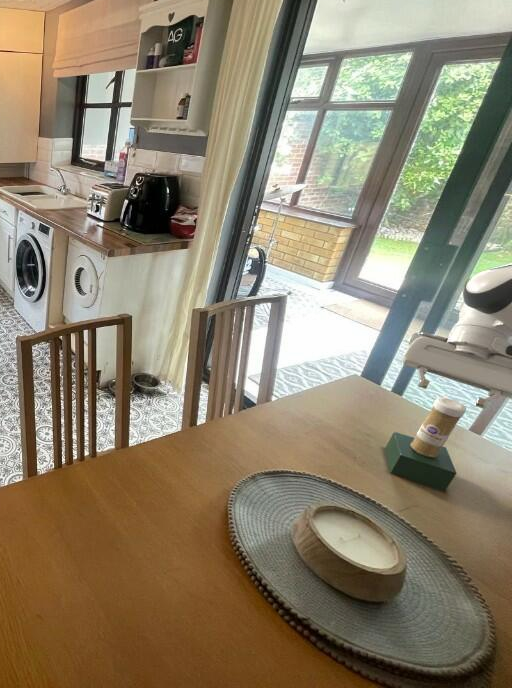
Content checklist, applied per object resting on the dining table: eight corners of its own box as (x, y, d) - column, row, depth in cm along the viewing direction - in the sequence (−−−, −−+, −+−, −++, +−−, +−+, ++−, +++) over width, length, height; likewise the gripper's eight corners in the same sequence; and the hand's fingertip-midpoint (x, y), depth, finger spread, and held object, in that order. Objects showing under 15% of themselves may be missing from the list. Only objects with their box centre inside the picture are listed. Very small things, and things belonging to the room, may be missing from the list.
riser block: (434, 464, 95) (445, 447, 93) (444, 491, 89) (456, 473, 86) (384, 448, 100) (394, 431, 98) (390, 473, 93) (400, 455, 91)
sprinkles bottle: (407, 449, 92) (435, 402, 87) (411, 440, 95) (438, 393, 89) (435, 461, 89) (465, 413, 83) (439, 451, 92) (468, 404, 86)
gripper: (416, 324, 100) (392, 372, 98) (547, 358, 86) (522, 415, 85) (411, 334, 105) (388, 380, 103) (534, 368, 91) (510, 422, 89)
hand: (449, 396), depth 94 cm, fingers open, 8 cm apart
